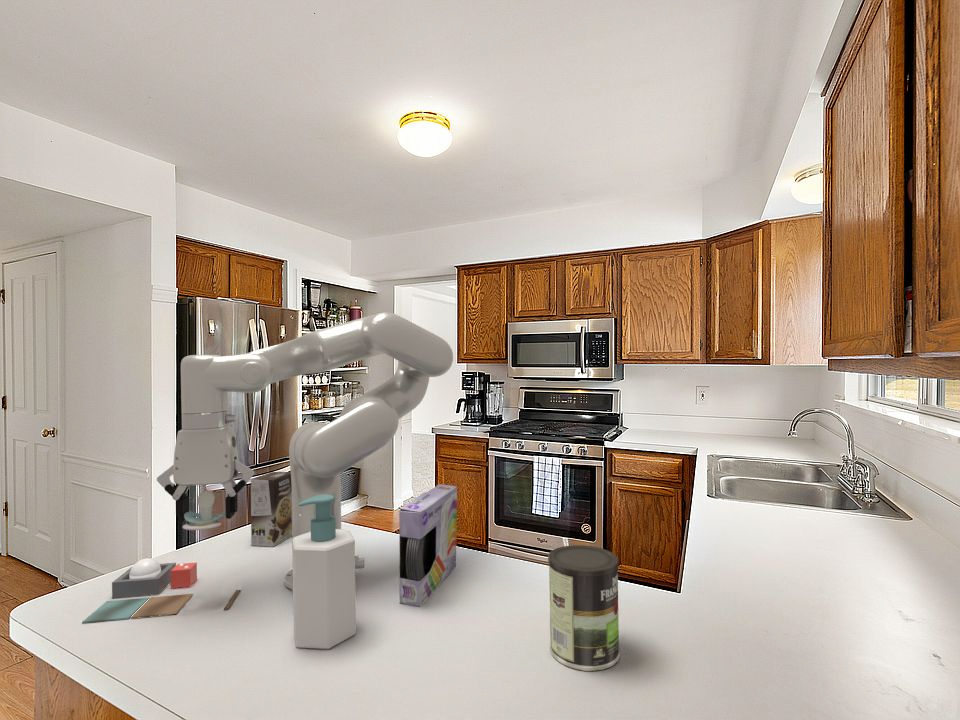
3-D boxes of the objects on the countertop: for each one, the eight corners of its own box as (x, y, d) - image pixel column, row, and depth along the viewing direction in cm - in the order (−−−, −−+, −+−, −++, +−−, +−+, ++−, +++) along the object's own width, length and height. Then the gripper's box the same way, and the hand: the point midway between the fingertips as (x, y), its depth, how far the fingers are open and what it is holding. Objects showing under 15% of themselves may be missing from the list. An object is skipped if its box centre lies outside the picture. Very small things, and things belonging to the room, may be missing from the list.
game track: (240, 591, 98) (240, 589, 98) (228, 609, 91) (228, 608, 91) (106, 602, 94) (106, 601, 94) (82, 623, 86) (82, 621, 86)
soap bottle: (292, 624, 85) (290, 492, 85) (348, 613, 89) (346, 486, 89) (296, 657, 76) (294, 508, 76) (359, 642, 79) (357, 501, 79)
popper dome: (165, 579, 103) (165, 553, 103) (154, 590, 98) (153, 563, 98) (137, 581, 102) (137, 555, 102) (124, 593, 97) (123, 565, 97)
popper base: (201, 575, 106) (200, 556, 106) (185, 592, 98) (185, 572, 98) (133, 580, 104) (133, 561, 104) (112, 598, 96) (111, 578, 96)
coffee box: (274, 547, 121) (273, 479, 121) (250, 546, 122) (249, 478, 122) (295, 534, 130) (294, 471, 130) (272, 533, 131) (272, 470, 131)
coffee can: (628, 644, 78) (627, 551, 78) (607, 680, 69) (605, 576, 69) (565, 626, 83) (564, 540, 83) (538, 657, 75) (536, 561, 75)
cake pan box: (420, 611, 89) (418, 510, 89) (394, 607, 91) (393, 507, 91) (459, 568, 107) (458, 484, 107) (437, 565, 109) (436, 483, 109)
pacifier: (217, 532, 89) (231, 520, 95) (216, 496, 89) (230, 487, 95) (174, 533, 89) (191, 521, 95) (173, 498, 89) (190, 488, 95)
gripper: (260, 417, 99) (262, 509, 99) (162, 421, 96) (164, 515, 96) (250, 422, 91) (252, 520, 91) (143, 426, 88) (145, 528, 88)
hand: (207, 517), depth 94 cm, fingers closed on pacifier, 7 cm apart
